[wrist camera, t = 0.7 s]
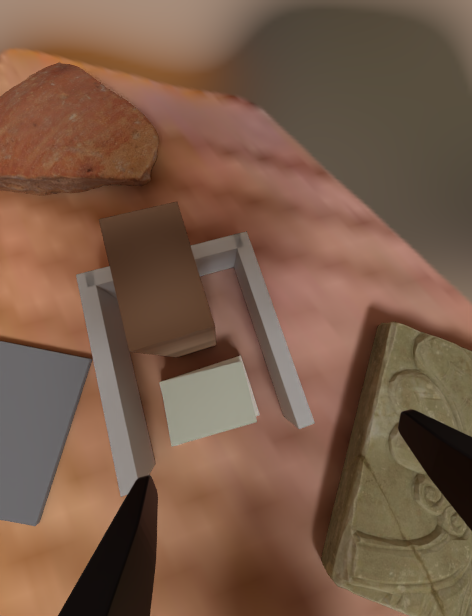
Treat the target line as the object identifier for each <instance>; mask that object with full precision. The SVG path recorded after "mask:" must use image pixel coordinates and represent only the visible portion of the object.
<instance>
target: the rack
mask: <svg viewBox="0 0 472 616" xmlns="http://www.w3.org/2000/svg"><path fill="white" fill-rule="evenodd" d="M191 249H192V252H193V255H194V259H195V262H196V265H197V269H198V272H199V275H200V276H203V275H207V274H210V273H214V272H218V271H221V270H225V269H229V268H232V267H234V269H235V272H236V275H237V278H238V281H239V284H240V287H241V290H242V293H243V296H244V299H245V302H246V305H247V308H248V311H249V314H250V317H251V320H252V323H253V326H254V329H255V332H256V335H257V338H258V341H259V344H260V347H261V350H262V353H263V356H264V359H265V362H266V365H267V368H268V371H269V374H270V377H271V380H272V383H273V386H274V389H275V392H276V395H277V398H278V401H279V404H280V407H281V410H282V413H283V416H284V417H285V418H286V419H287V420H288V421H290V422H291V423H292V424H293V425H295V426H296V427H297V428H298V429H301V428H304V427H306V426H309V425H311V424H314V420H313V417H312V414H311V411H310V408H309V406H308V403H307V400H306V397H305V394H304V391H303V389H302V386H301V383H300V380H299V377H298V375H297V372H296V369H295V366H294V363H293V360H292V358H291V355H290V352H289V349H288V346H287V344H286V341H285V338H284V335H283V332H282V329H281V327H280V324H279V321H278V318H277V315H276V313H275V310H274V307H273V304H272V301H271V298H270V296H269V293H268V290H267V287H266V284H265V282H264V279H263V276H262V273H261V270H260V267H259V265H258V262H257V259H256V256H255V253H254V251H253V248H252V245H251V242H250V239H249V236H248V234H247V231H246V232H242V233H238V234H234V235H231V236H227V237H223V238H219V239H215V240H211V241H207V242H203V243H199V244H195V245H191ZM76 277H77V282H78V287H79V292H80V297H81V302H82V307H83V312H84V317H85V322H86V327H87V332H88V337H89V342H90V347H91V352H92V357H93V361H94V366H95V371H96V376H97V381H98V386H99V391H100V396H101V401H102V406H103V411H104V416H105V421H106V426H107V431H108V436H109V441H110V446H111V451H112V456H113V461H114V466H115V471H116V476H117V481H118V486H119V490H120V495H121V497H122V496H125V495H127V494H128V493H129V491H130V490H131V488H132V486H133V484H134V483H135V481H136V480H137V479H138V478H139V477H143V476H147V475H149V474H150V472H151V471H152V469H153V467H154V466H155V460H154V455H153V451H152V447H151V442H150V438H149V434H148V429H147V425H146V421H145V416H144V412H143V408H142V403H141V399H140V395H139V390H138V386H137V382H136V377H135V373H134V369H133V364H132V360H131V356H130V352H129V348H128V344H127V339H126V335H125V331H124V326H123V322H122V318H121V313H120V309H119V305H118V300H117V296H116V292H115V287H114V283H113V279H112V274H111V270H110V266H108V267H105V268H101V269H97V270H93V271H89V272H85V273H81V274H77V275H76Z"/></svg>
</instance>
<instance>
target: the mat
mask: <svg viewBox="0 0 472 616" xmlns="http://www.w3.org/2000/svg"><path fill="white" fill-rule="evenodd" d="M91 362H92V359H89V358H84V357H79V356H74V355H69V354H64V353H59V352H54V351H49V350H44V349H39V348H34V347H29V346H24V345H19V344H14V343H9V342H4V341H0V520H5V521H10V522H16V523H21V524H27V525H32V526H36V525H37V524H38V523H39V522H40V519H41V516H42V513H43V510H44V507H45V504H46V501H47V498H48V495H49V491H50V488H51V485H52V482H53V479H54V476H55V473H56V470H57V467H58V464H59V461H60V458H61V455H62V451H63V448H64V445H65V442H66V439H67V436H68V433H69V430H70V427H71V424H72V421H73V418H74V415H75V411H76V408H77V405H78V402H79V399H80V396H81V393H82V390H83V387H84V384H85V381H86V378H87V375H88V371H89V368H90V365H91Z"/></svg>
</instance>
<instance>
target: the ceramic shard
mask: <svg viewBox="0 0 472 616" xmlns="http://www.w3.org/2000/svg"><path fill="white" fill-rule="evenodd" d="M158 144H159V137H158V134H157V132H156V130H155V129H154V127H153V125H152V124H151V123H150V122H149V120H148V119H147V118H146V117H145V116H144V115H143V114H142V113H141V112H140V111H139V110H137V109H136V108H135V107H134V106H133V105H131V104H130V103H129V102H128V101H126V100H125V99H123V98H122V97H120V96H119V95H117V94H115V93H114V92H112V91H111V90H109V89H107V88H106V87H105V86H104V85H103V84H101V83H100V82H99V81H97V80H96V79H94V78H93V77H92V76H90V75H89V74H88V73H86V72H85V71H84V70H82V69H80V68H79V67H77V66H74V65H70V64H61V63H57V64H54V65H51V66H48V67H46V68H44V69H42V70H40V71H38V72H36V74H33V75H31V76H29V77H28V78H27V79H26V80H25V81H23V82H21V83H20V84H18V85H16V86H14V87H13V88H11V89H10V90H9V91H7V92H6V93H4V94H3V95H2V96H1V97H0V190H5V191H13V192H24V193H30V194H34V195H49V194H52V193H53V194H57V193H60V192H67V193H76V192H83V191H87V190H90V189H94V188H98V187H101V186H103V185H111V184H120V185H122V184H124V185H135V186H142V185H145V184H146V183H147V182H149V181H150V180H151V179H150V172H151V169H152V167H153V166H154V163H155V162H156V159H157V151H158Z"/></svg>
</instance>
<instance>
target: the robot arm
mask: <svg viewBox="0 0 472 616" xmlns="http://www.w3.org/2000/svg"><path fill="white" fill-rule="evenodd" d="M398 430H399V433H400V435H401V436H402V438H403V439H404V441H405V442H406V444H407V445H408V447H409V448H410V450H411V451H412V453H413V454H414V456H415V457H416V459H417V460H418V462H419V463H420V465H421V466H422V468H423V469H424V471H425V472H426V473H427V475H428V476H429V478H430V479H431V480H432V482H433V483H434V484H435V486H436V487H437V488H438V489H439V491H440V492H441V493H442V494H443V496H444V497H445V498H446V499H447V501H448V502H449V503H450V504H451V506H452V507H453V508H454V509H455V511H456V512H457V513H458V515H459V516H460V517H461V518H462V520H463V521H464V522H465V523H466V525H467V526H468V527H469V528H470V530H471V531H472V437H471V436H469V435H467V434H465V433H462V432H460V431H458V430H456V429H454V428H452V427H450V426H448V425H446V424H444V423H441V422H439V421H437V420H435V419H433V418H431V417H429V416H427V415H425V414H422V413H420V412H418V411H416V410H413V409H409V410H405V411H402V412H401V414H400V418H399V424H398ZM157 508H158V494H157V489H156V487H155V484H154V482H153V479H152V477H151V476H150V475H147V476H143V477H139V478H138V479H137V480H136V481H135V483H134V484H133V486H132V488H131V490H130V491H129V493H128V495H127V497H126V498H125V500H124V502H123V503H122V505H121V507H120V509H119V510H118V512H117V514H116V516H115V517H114V519H113V521H112V523H111V524H110V526H109V528H108V530H107V531H106V533H105V535H104V537H103V538H102V540H101V542H100V543H99V545H98V547H97V549H96V550H95V552H94V554H93V556H92V557H91V559H90V561H89V563H88V564H87V566H86V568H85V570H84V571H83V573H82V575H81V577H80V578H79V580H78V582H77V583H76V585H75V587H74V589H73V590H72V592H71V594H70V596H69V597H68V599H67V601H66V603H65V604H64V606H63V608H62V610H61V611H60V613H59V615H58V616H150V609H151V600H152V592H153V583H154V574H155V564H156V548H157Z"/></svg>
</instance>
